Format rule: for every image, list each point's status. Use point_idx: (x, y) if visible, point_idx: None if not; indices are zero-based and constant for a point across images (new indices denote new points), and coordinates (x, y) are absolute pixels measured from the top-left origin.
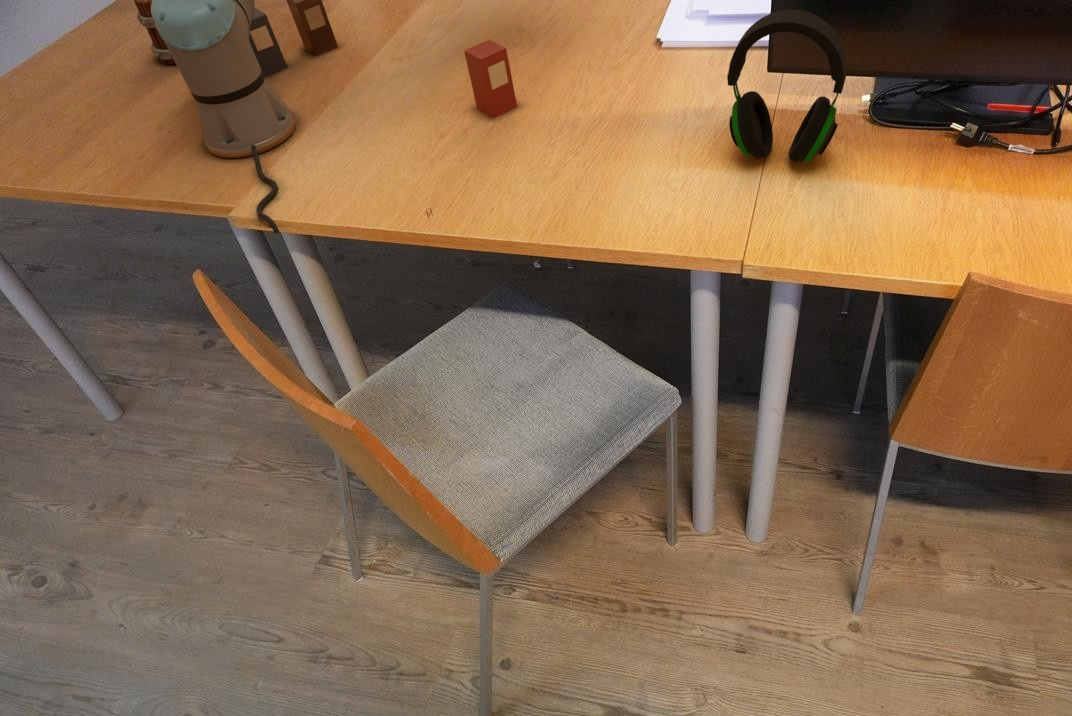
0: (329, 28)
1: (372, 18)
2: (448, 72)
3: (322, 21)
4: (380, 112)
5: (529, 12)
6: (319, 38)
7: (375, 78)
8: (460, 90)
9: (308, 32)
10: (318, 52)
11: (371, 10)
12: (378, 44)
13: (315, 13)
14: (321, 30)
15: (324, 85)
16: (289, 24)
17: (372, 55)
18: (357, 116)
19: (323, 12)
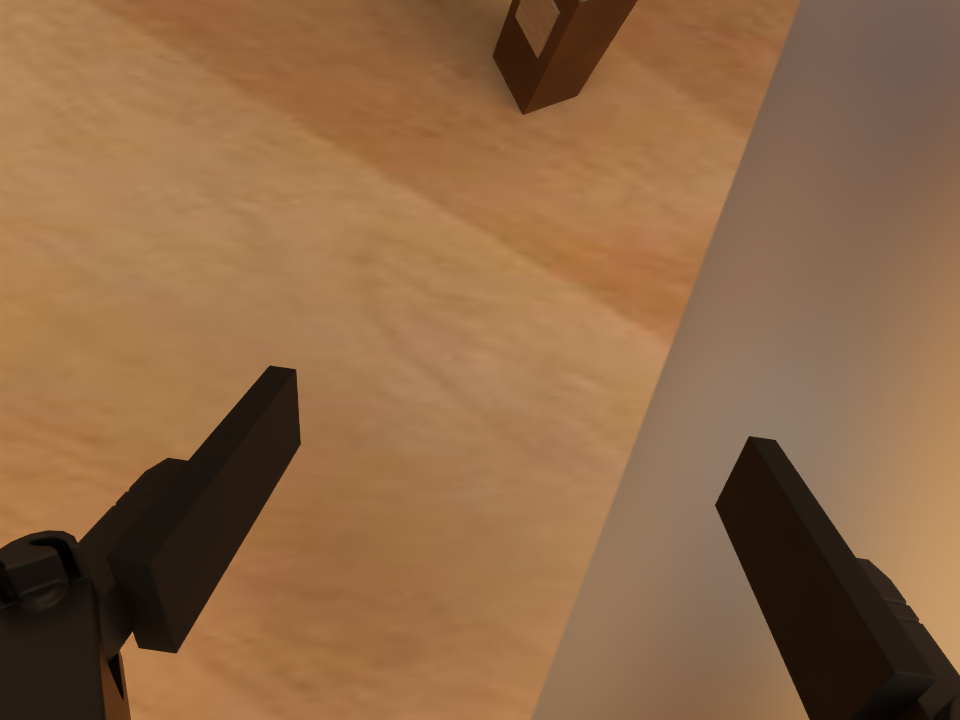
0: (537, 74)
1: (661, 219)
2: (195, 385)
3: (538, 43)
4: (21, 159)
5: (518, 689)
6: (515, 51)
7: (270, 177)
8: (32, 409)
9: (512, 10)
10: (498, 61)
11: (710, 223)
12: (492, 213)
13: (542, 10)
14: (527, 50)
15: (298, 48)
16: (702, 29)
17: (428, 189)
18: (35, 97)
19: (553, 38)
